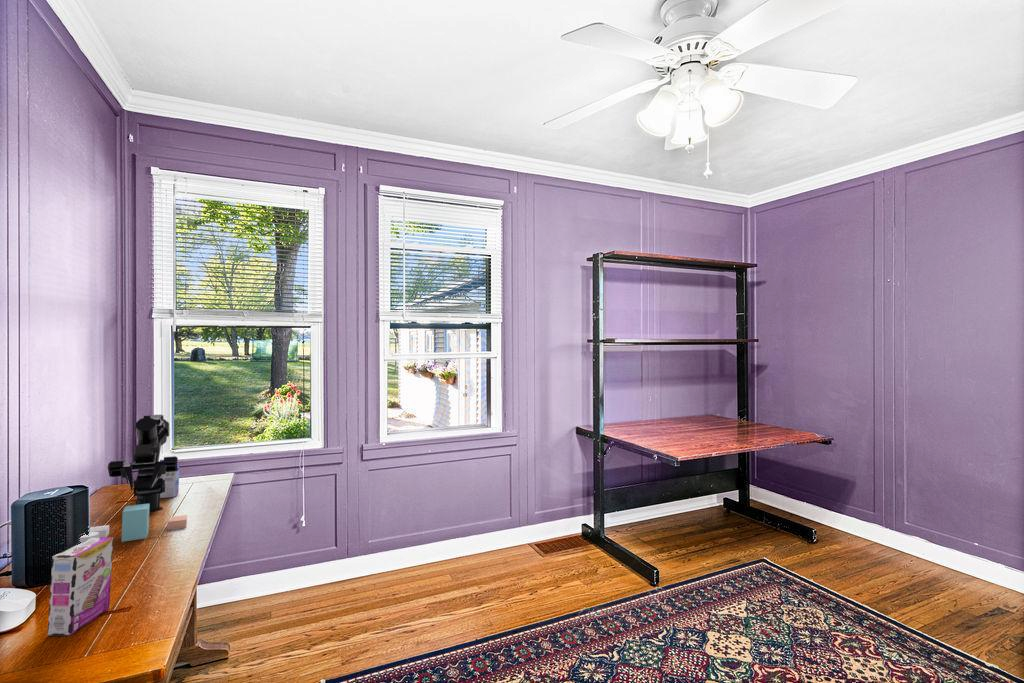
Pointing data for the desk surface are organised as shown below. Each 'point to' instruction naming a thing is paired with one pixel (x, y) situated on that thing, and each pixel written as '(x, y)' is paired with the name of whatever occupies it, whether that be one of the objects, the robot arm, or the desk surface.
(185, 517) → the terracotta block
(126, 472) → the robot arm
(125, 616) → the desk surface
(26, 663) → the desk surface
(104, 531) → the pale grey block
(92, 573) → the candy bar box
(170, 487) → the ink cartridge box
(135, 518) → the teal upright rectangular block
